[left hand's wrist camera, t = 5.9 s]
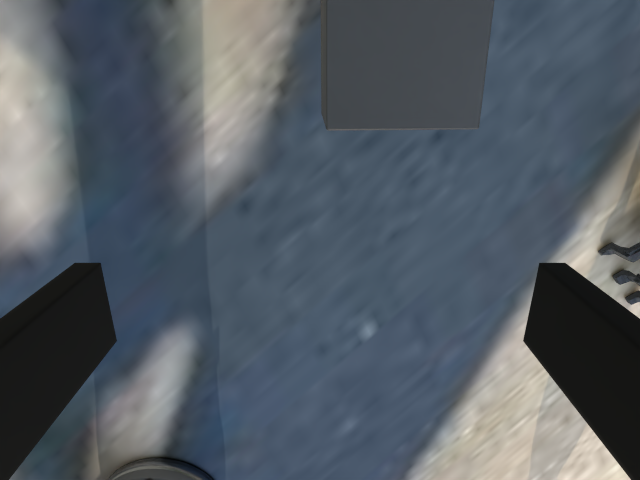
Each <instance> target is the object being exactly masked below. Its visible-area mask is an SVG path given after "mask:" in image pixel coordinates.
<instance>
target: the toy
mask: <svg viewBox="0 0 640 480" xmlns="http://www.w3.org/2000/svg"><path fill="white" fill-rule="evenodd" d="M598 252H599V253H600V255H611V254H616V255H618V256H620V257H622V258H624V259H626V260H628V261H630V262H635V261H636V260H638V259H640V242H639V243H637V244H636V245H634V246H632V247H630V248H625V247H620V246H618V245H616V244H614V243H610V244H609V245H607V246H606V247H604V248H602V249H601V250H599V251H598ZM613 278H614V280H615V281H616V282H617V283H618V284H623V283H626V282H629V281H632V282H636V283H637V284H638V285H640V275H639V274H637V276H636V275H634V274H633V273H631V272H630V271H627V270H622V271H620V272H619V273H617V274H615V275H614V276H613ZM625 299H626V300H627V302H628V303H630V304H631V305H632V304H634V303H637V302H640V291H636V292H635V293H633V294H631V295H630V296H628V297H626V298H625Z"/></svg>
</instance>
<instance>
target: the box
mask: <svg viewBox="0 0 640 480" xmlns="http://www.w3.org/2000/svg"><path fill="white" fill-rule="evenodd" d="M493 7H494V0H321V103H322V116H323V119H324V123H325V126H326V129H327V130H435V129H478V128H479V123H480V114H481V106H482V98H483V89H484V81H485V73H486V65H487V56H488V48H489V40H490V32H491V23H492V15H493Z"/></svg>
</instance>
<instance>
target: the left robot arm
mask: <svg viewBox="0 0 640 480" xmlns="http://www.w3.org/2000/svg"><path fill="white" fill-rule="evenodd" d="M116 341H117V340H116V335H115V330H114V326H113V321H112V316H111V311H110V306H109V301H108V297H107V292H106V287H105V282H104V277H103V273H102V268H101V263H74V264H73V265H71V266H70V267H69V268H67V269H66V270H65V271H63V272H62V273H61V274H59V275H58V276H57V277H55V278H54V279H53V280H51V281H50V282H49V283H47V284H46V285H45V286H43V287H42V288H41V289H39V290H38V291H37V292H35V293H34V294H33V295H31V296H30V297H29V298H27V299H26V300H25V301H23V302H22V303H21V304H19V305H18V306H17V307H15V308H14V309H13V310H11V311H10V312H9V313H7V314H6V315H5V316H3V317H2V318H1V319H0V480H9V479H10V477H11V476H12V475H13V474H14V472H15V471H16V470H17V468H18V467H19V466H20V465H21V463H22V462H23V461H24V459H25V458H26V457H27V456H28V454H29V453H30V452H31V450H32V449H33V448H34V447H35V445H36V444H37V443H38V441H39V440H40V439H41V438H42V436H43V435H44V434H45V432H46V431H47V430H48V429H49V427H50V426H51V425H52V423H53V422H54V421H55V420H56V418H57V417H58V416H59V414H60V413H61V412H62V411H63V409H64V408H65V407H66V405H67V404H68V403H69V402H70V400H71V399H72V398H73V396H74V395H75V394H76V393H77V391H78V390H79V389H80V387H81V386H82V385H83V384H84V382H85V381H86V380H87V378H88V377H89V376H90V375H91V373H92V372H93V371H94V369H95V368H96V367H97V366H98V364H99V363H100V362H101V360H102V359H103V358H104V357H105V355H106V354H107V353H108V351H109V350H110V349H111V348H112V346H113V345H114V344H115V342H116ZM523 341H524V342H525V344H526V345H527V346H528V348H529V349H530V350H531V351H532V353H533V354H534V355H535V357H536V358H537V359H538V360H539V362H540V363H541V364H542V366H543V367H544V368H545V369H546V371H547V372H548V373H549V375H550V376H551V377H552V378H553V380H554V381H555V382H556V384H557V385H558V386H559V387H560V389H561V390H562V391H563V393H564V394H565V395H566V396H567V398H568V399H569V400H570V402H571V403H572V404H573V405H574V407H575V408H576V409H577V411H578V412H579V413H580V414H581V416H582V417H583V418H584V420H585V421H586V422H587V423H588V425H589V426H590V427H591V429H592V430H593V431H594V432H595V434H596V435H597V436H598V438H599V439H600V440H601V441H602V443H603V444H604V445H605V447H606V448H607V449H608V450H609V452H610V453H611V454H612V456H613V457H614V458H615V459H616V461H617V462H618V463H619V465H620V466H621V467H622V468H623V470H624V471H625V472H626V474H627V475H628V476H629V477H630V479H631V480H640V319H639V318H638V317H637V316H635V315H634V314H633V313H631V312H630V311H629V310H627V309H626V308H625V307H623V306H622V305H621V304H619V303H618V302H617V301H615V300H614V299H613V298H611V297H610V296H609V295H607V294H606V293H605V292H603V291H602V290H601V289H599V288H598V287H597V286H595V285H594V284H593V283H591V282H590V281H589V280H587V279H586V278H585V277H583V276H582V275H581V274H579V273H578V272H577V271H575V270H574V269H573V268H571V267H570V266H569V265H567V264H566V263H539V268H538V273H537V277H536V282H535V287H534V292H533V297H532V301H531V306H530V311H529V316H528V321H527V326H526V330H525V335H524V340H523ZM108 480H213V479H212V478H211V477H209V476H208V475H207V474H206V473H204V472H203V471H201V470H200V469H198V468H196V467H194V466H192V465H190V464H187V463H184V462H181V461H177V460H172V459H164V458H150V459H143V460H138V461H135V462H132V463H129V464H127V465H125V466H123V467H121V468H120V469H118V470H117V471H116V472H114V473H113V474H112V475H111V477H110V478H109V479H108Z"/></svg>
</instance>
